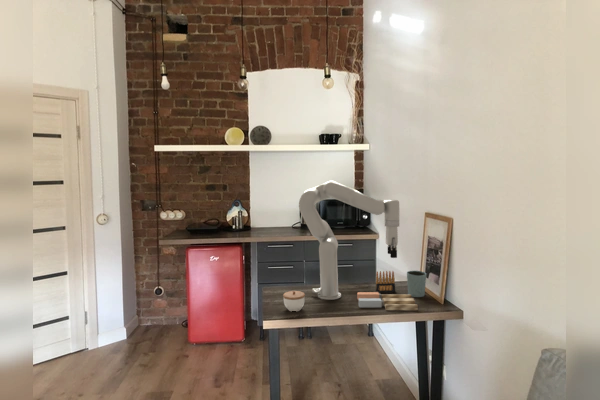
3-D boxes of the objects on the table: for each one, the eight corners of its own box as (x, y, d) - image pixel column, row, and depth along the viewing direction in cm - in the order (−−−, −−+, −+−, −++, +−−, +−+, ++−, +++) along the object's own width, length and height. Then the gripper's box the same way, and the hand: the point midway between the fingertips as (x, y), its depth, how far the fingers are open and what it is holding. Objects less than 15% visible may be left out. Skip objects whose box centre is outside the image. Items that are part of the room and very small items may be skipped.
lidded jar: (307, 306, 190) (306, 288, 190) (302, 313, 180) (302, 294, 179) (286, 305, 193) (286, 287, 192) (281, 312, 182) (280, 293, 182)
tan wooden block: (358, 301, 196) (357, 294, 196) (357, 298, 200) (357, 292, 200) (381, 301, 195) (381, 294, 195) (380, 298, 199) (380, 292, 199)
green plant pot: (406, 291, 209) (405, 270, 208) (425, 292, 207) (425, 270, 206) (407, 297, 199) (407, 275, 198) (427, 298, 197) (427, 275, 196)
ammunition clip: (394, 291, 211) (394, 270, 210) (395, 292, 209) (395, 271, 208) (375, 291, 211) (375, 270, 210) (376, 292, 209) (375, 271, 208)
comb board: (385, 310, 182) (385, 305, 181) (381, 299, 198) (381, 294, 197) (417, 310, 180) (417, 305, 180) (410, 299, 196) (410, 294, 196)
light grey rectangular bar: (359, 307, 186) (359, 300, 186) (358, 305, 190) (358, 298, 190) (384, 307, 186) (383, 300, 185) (383, 305, 189) (382, 298, 189)
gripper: (382, 221, 205) (382, 252, 207) (387, 225, 188) (387, 259, 189) (396, 221, 205) (396, 252, 206) (402, 225, 188) (402, 259, 189)
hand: (392, 255), depth 198 cm, fingers open, 9 cm apart
